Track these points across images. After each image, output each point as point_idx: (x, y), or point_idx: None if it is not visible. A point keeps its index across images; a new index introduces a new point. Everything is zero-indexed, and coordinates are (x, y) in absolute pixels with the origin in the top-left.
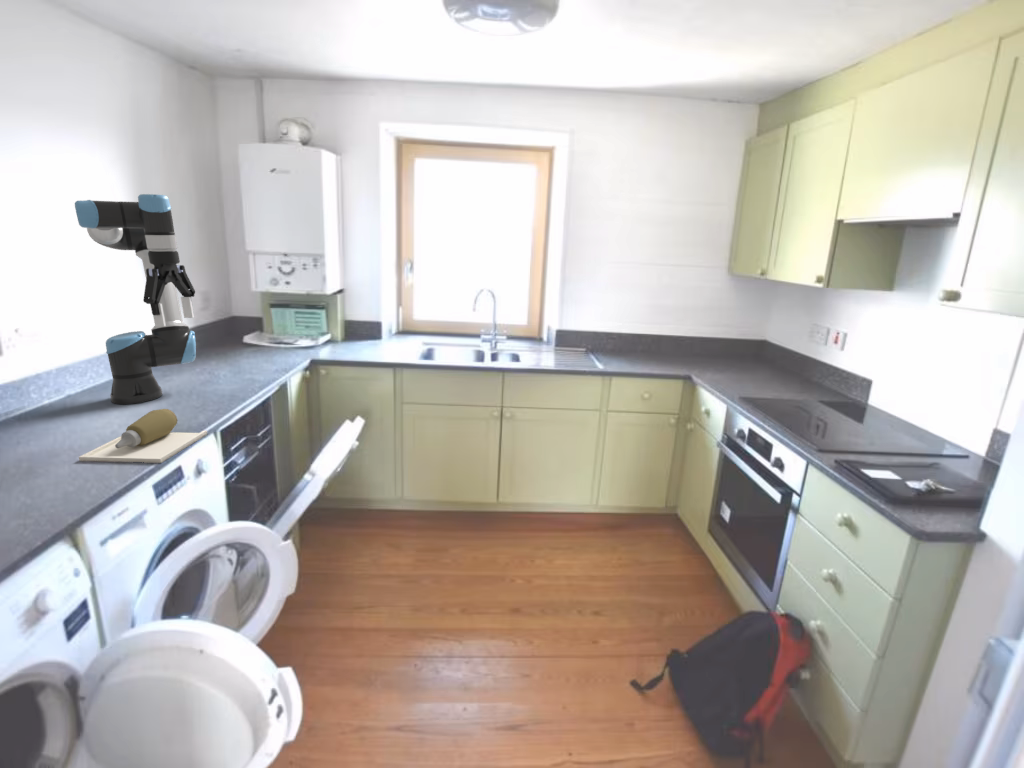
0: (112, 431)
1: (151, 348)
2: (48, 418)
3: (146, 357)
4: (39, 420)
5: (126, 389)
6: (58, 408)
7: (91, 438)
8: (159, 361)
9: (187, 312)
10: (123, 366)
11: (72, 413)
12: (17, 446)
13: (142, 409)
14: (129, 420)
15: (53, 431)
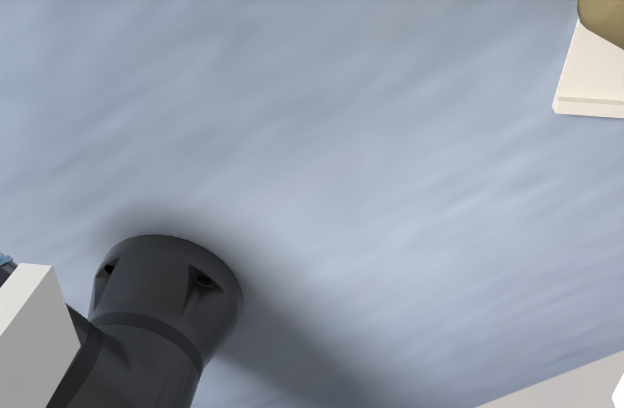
0: (516, 190)
1: (69, 386)
2: (372, 388)
3: (109, 366)
4: (387, 396)
5: (216, 320)
6: (291, 404)
7: (580, 213)
8: (80, 321)
9: (30, 367)
10: (181, 391)
11: (330, 363)
12: (602, 345)
13: (282, 219)
14: (400, 199)
15: (486, 332)
